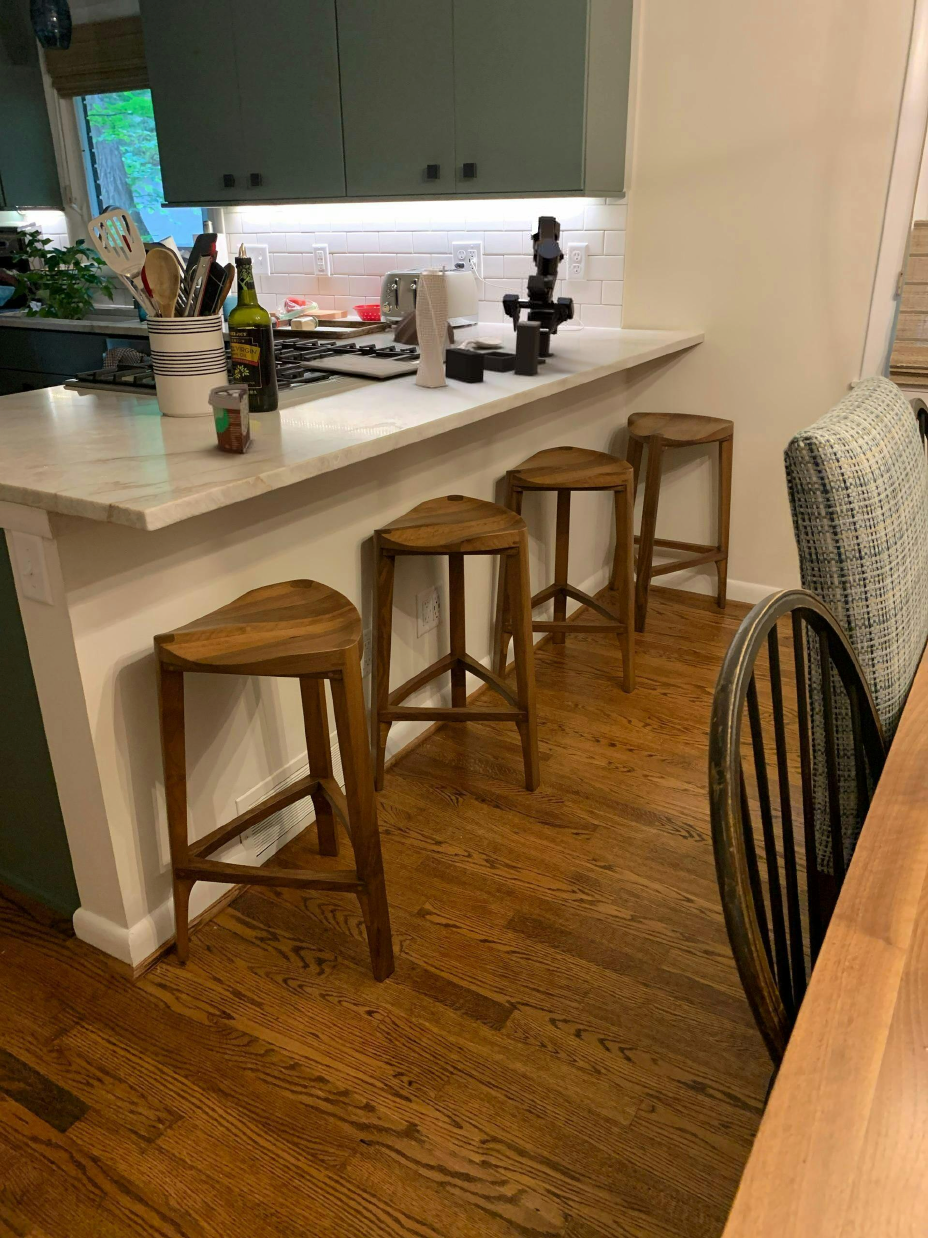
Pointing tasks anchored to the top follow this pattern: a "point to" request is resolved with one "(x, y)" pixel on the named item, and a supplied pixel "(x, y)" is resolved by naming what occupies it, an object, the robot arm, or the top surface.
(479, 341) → the spoon
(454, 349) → the black rectangular block
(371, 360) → the decorative slab
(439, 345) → the skyscraper
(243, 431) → the food container
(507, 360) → the dark grey tray
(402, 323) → the decorative dome
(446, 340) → the flask
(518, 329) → the pad block
